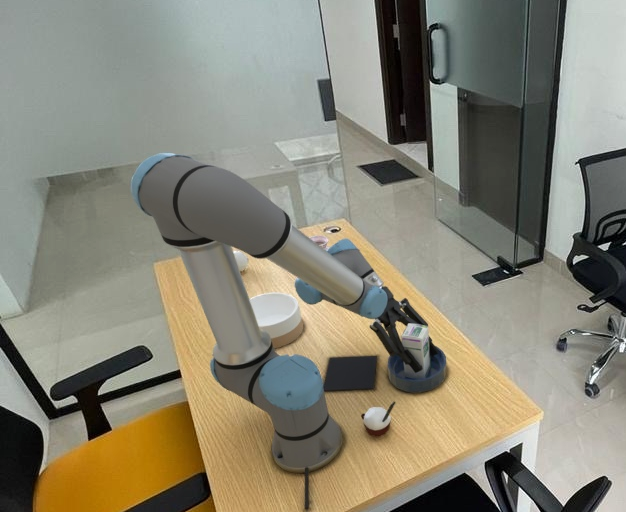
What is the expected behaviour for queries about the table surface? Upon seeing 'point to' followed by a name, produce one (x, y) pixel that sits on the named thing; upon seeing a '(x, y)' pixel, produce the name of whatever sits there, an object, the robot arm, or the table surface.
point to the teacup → (320, 241)
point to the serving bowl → (417, 385)
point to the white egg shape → (241, 260)
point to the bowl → (278, 317)
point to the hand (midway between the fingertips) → (427, 362)
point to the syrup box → (417, 349)
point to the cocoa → (377, 420)
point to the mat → (350, 373)
